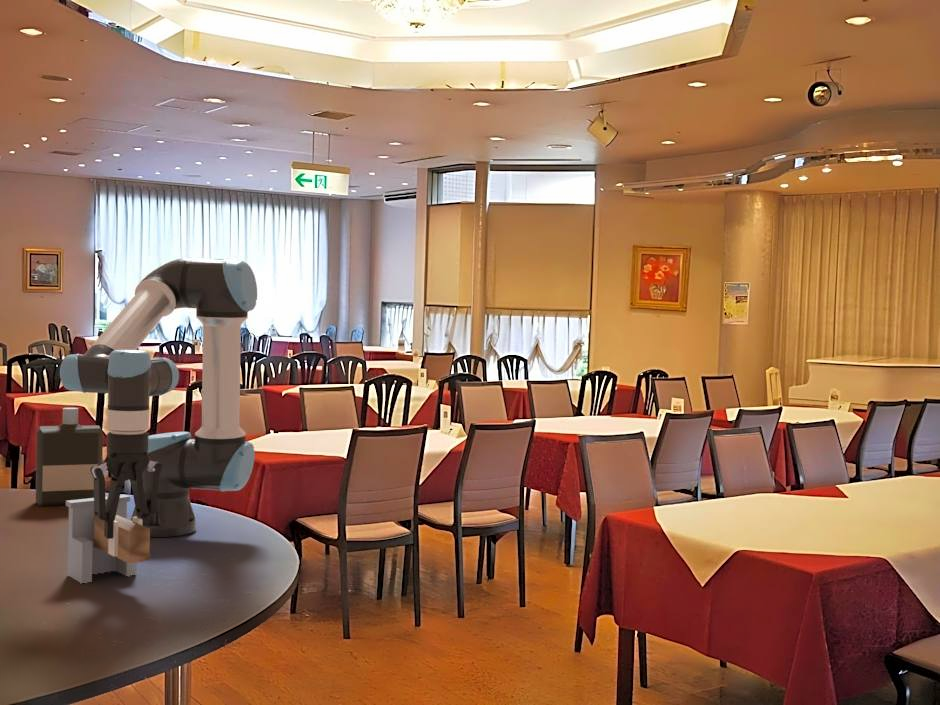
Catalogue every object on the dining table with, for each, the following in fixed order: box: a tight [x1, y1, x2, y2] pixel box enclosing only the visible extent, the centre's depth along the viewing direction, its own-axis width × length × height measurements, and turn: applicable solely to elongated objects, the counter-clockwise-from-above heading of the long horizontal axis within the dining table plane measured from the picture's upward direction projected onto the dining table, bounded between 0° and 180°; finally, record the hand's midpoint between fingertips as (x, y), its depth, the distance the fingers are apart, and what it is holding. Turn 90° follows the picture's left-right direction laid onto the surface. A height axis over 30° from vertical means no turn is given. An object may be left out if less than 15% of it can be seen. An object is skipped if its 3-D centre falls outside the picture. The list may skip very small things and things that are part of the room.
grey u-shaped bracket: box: [65, 494, 138, 584], centre depth 201 cm, size 12×7×15 cm, turn 133°
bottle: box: [35, 407, 104, 507], centre depth 267 cm, size 8×16×25 cm, turn 115°
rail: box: [93, 515, 151, 563], centre depth 195 cm, size 4×17×6 cm, turn 43°
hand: (125, 552), depth 194 cm, fingers closed on rail, 4 cm apart
